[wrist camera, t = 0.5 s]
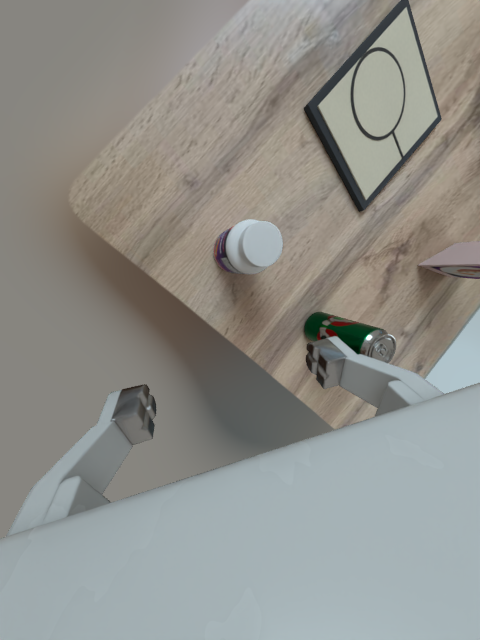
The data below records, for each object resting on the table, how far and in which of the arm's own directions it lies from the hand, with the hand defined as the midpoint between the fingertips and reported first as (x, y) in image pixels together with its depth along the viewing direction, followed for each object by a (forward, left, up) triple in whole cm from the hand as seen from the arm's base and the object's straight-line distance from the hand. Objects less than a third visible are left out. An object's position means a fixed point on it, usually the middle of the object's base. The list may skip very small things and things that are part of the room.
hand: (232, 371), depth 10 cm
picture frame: (-25, +30, -18) cm, 43 cm away
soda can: (+6, +20, -19) cm, 28 cm away
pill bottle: (-7, +6, -19) cm, 21 cm away
